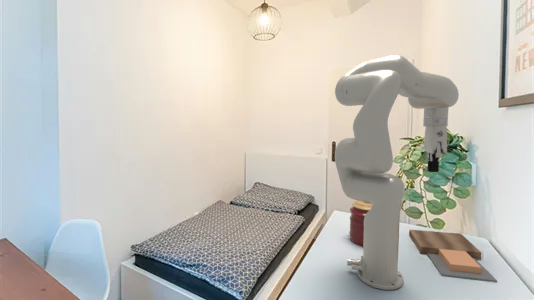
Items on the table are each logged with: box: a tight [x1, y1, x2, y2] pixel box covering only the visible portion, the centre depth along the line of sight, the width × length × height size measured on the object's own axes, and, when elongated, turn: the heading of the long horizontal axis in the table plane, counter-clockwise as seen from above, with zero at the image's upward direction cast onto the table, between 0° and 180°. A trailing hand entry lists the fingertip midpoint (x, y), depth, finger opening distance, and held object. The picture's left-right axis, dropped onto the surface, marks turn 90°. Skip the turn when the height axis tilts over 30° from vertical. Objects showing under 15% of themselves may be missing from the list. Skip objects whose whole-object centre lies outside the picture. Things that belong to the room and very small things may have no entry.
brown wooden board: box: [408, 229, 482, 261], centre depth 96 cm, size 18×15×2 cm
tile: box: [438, 249, 481, 274], centre depth 84 cm, size 8×10×2 cm
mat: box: [426, 253, 498, 283], centre depth 82 cm, size 14×13×1 cm
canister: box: [349, 200, 372, 247], centre depth 101 cm, size 13×13×18 cm
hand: (432, 171), depth 98 cm, fingers closed
